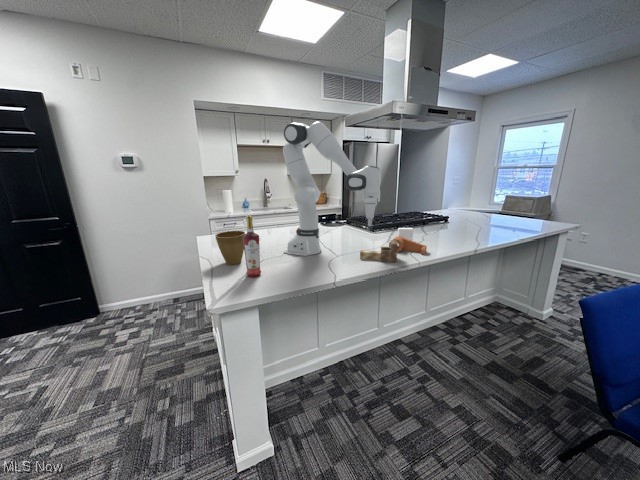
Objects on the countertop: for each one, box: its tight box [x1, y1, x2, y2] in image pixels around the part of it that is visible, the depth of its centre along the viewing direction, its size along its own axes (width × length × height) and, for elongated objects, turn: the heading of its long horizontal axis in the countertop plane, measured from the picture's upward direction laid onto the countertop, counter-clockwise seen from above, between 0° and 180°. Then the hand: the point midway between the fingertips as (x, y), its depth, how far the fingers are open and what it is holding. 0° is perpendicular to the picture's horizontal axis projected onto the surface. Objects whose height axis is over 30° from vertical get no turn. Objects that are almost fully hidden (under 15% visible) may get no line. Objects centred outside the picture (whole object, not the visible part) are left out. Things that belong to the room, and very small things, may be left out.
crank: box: [388, 235, 428, 255], centre depth 155 cm, size 20×8×8 cm, turn 60°
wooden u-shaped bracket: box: [380, 239, 398, 264], centre depth 140 cm, size 8×8×10 cm
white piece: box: [397, 227, 414, 246], centre depth 163 cm, size 9×9×12 cm
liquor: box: [242, 215, 262, 278], centre depth 120 cm, size 7×7×28 cm
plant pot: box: [215, 230, 246, 266], centre depth 139 cm, size 15×15×16 cm
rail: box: [359, 249, 381, 261], centre depth 143 cm, size 15×4×4 cm, turn 77°
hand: (370, 224), depth 140 cm, fingers open, 8 cm apart
